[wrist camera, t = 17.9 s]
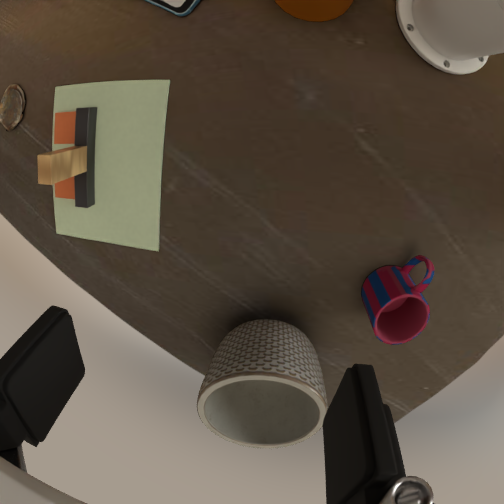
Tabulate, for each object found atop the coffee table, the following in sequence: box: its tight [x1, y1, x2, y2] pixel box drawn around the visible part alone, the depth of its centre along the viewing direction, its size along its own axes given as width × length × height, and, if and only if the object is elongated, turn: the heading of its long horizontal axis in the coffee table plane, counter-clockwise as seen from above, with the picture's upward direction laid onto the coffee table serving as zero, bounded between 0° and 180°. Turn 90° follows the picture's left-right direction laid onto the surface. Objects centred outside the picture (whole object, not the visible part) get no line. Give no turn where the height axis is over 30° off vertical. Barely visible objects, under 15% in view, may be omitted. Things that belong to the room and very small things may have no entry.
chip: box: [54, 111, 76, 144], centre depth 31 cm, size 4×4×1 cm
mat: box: [52, 80, 170, 251], centre depth 34 cm, size 20×16×1 cm
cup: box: [361, 255, 434, 345], centre depth 33 cm, size 7×10×7 cm
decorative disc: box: [0, 84, 25, 131], centre depth 30 cm, size 6×6×1 cm
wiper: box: [38, 107, 97, 208], centre depth 29 cm, size 12×2×8 cm, turn 173°
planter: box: [197, 319, 328, 448], centre depth 36 cm, size 14×14×13 cm
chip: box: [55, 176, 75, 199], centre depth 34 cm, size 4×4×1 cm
